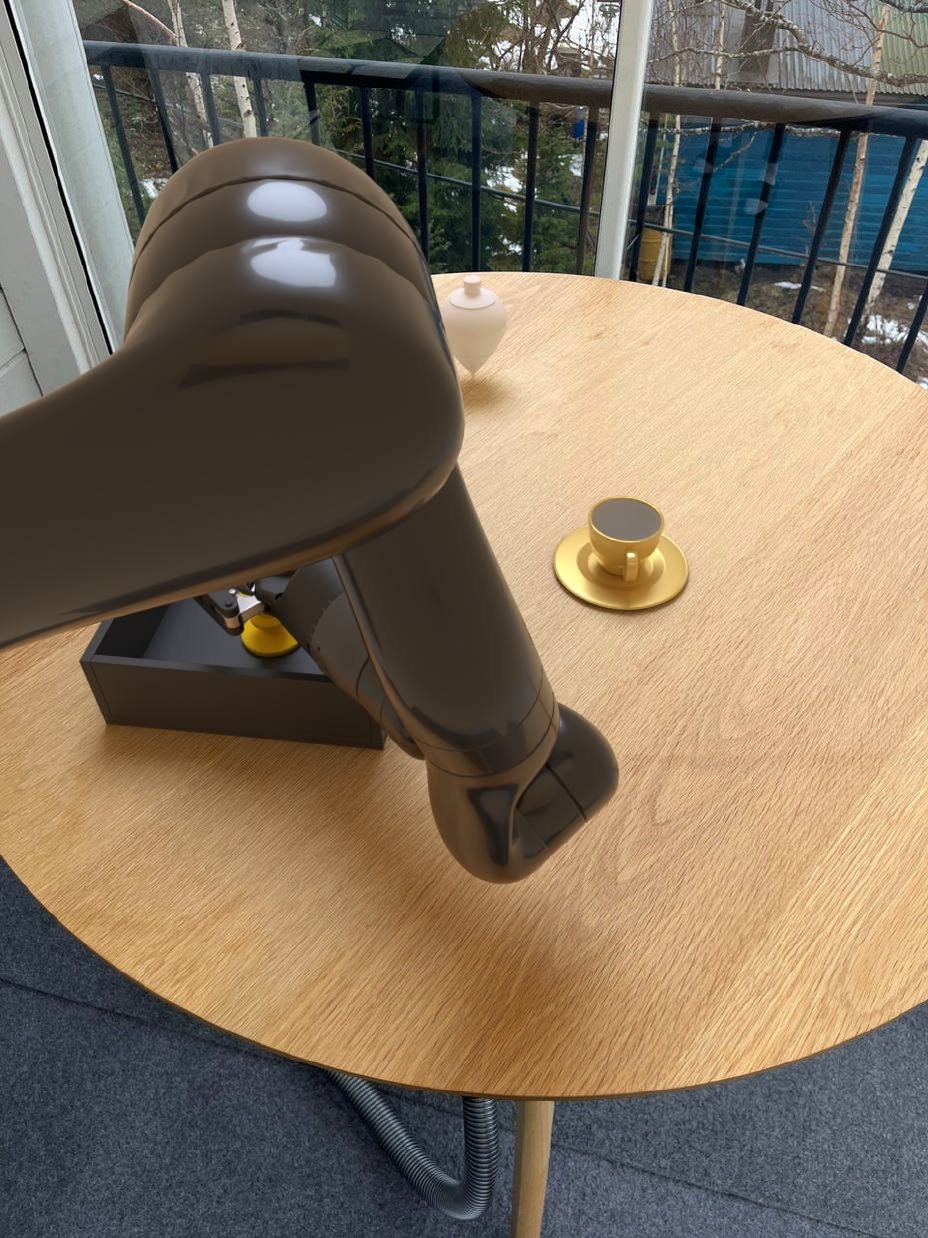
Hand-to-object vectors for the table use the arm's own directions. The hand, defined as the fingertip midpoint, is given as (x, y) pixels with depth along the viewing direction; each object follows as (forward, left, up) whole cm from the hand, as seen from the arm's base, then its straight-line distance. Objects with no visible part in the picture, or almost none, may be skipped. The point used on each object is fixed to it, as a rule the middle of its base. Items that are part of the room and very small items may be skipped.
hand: (245, 510), depth 71 cm
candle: (+1, -2, -11) cm, 11 cm away
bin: (+1, -1, -12) cm, 12 cm away
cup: (+29, +11, -12) cm, 33 cm away
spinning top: (+12, +42, -12) cm, 45 cm away
